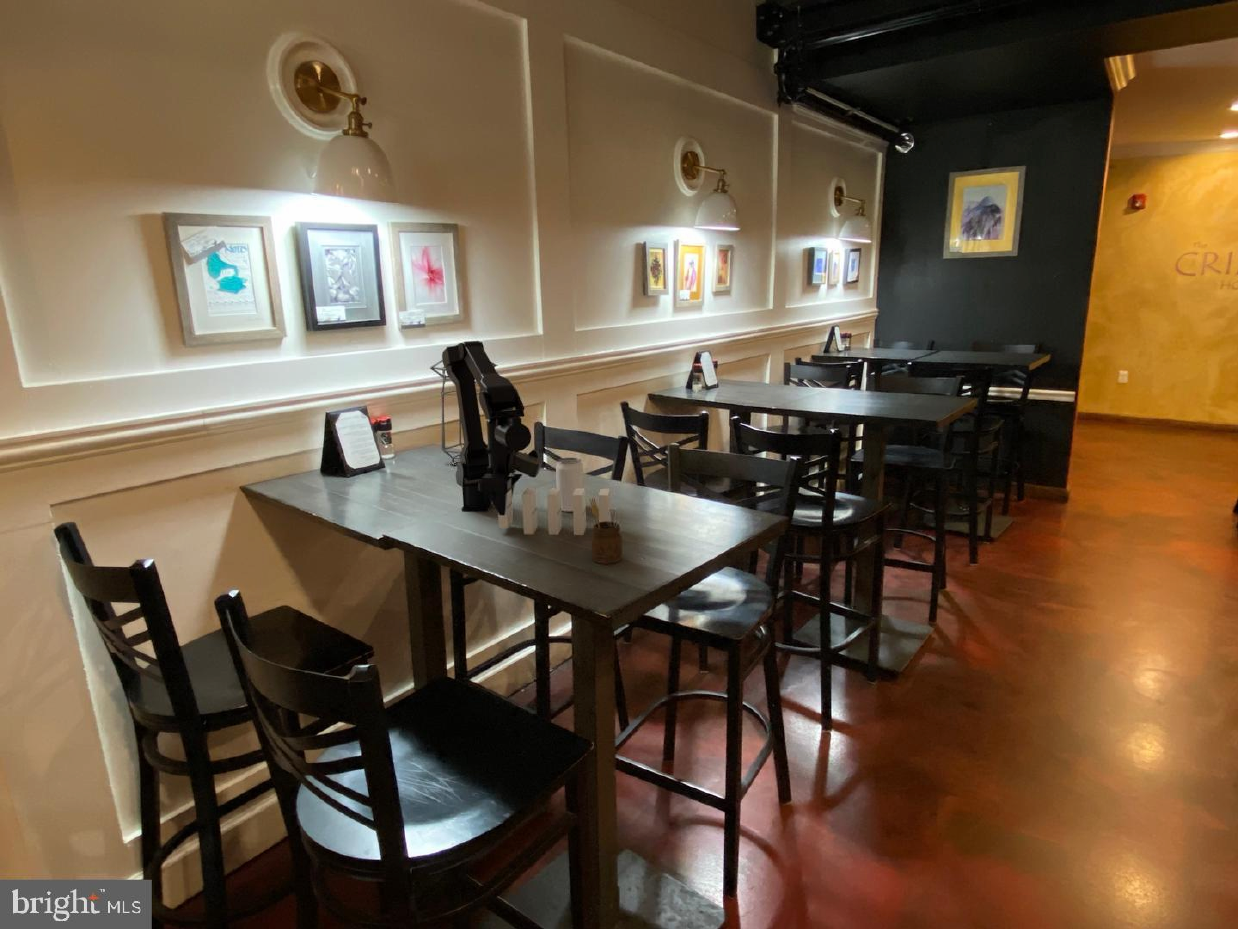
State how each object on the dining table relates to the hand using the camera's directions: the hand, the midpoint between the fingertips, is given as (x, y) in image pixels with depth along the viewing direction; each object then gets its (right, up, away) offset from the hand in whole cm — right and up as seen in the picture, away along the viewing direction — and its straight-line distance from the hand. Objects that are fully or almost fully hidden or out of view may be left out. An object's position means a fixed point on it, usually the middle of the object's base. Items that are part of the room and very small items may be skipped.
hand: (505, 511), depth 157 cm
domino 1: (0, -3, +1) cm, 3 cm away
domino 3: (+11, -4, 0) cm, 12 cm away
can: (+13, 0, +16) cm, 20 cm away
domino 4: (+17, -4, 0) cm, 17 cm away
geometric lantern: (-21, +11, +62) cm, 66 cm away
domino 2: (+6, -4, +1) cm, 7 cm away
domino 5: (+22, -4, -1) cm, 22 cm away
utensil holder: (+23, -8, -16) cm, 29 cm away
